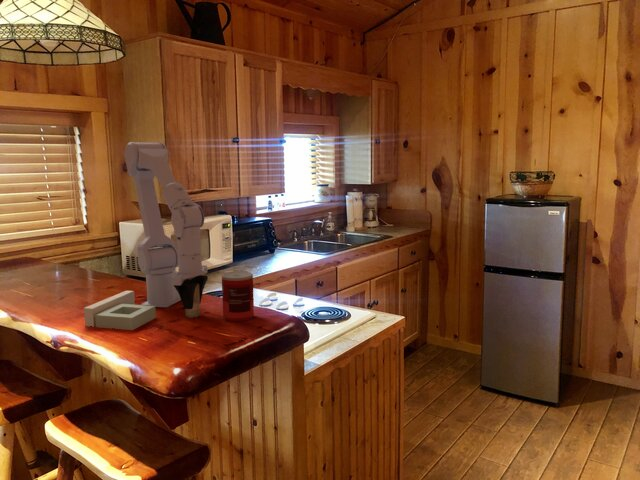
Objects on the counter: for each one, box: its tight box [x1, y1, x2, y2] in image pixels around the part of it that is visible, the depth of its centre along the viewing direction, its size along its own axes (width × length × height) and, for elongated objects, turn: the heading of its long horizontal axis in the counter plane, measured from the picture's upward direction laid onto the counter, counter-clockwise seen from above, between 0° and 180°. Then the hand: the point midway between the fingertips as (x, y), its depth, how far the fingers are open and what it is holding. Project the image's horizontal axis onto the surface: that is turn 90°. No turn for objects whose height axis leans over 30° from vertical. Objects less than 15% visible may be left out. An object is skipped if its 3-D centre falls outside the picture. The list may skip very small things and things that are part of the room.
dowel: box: [184, 284, 201, 319], centre depth 137 cm, size 4×4×8 cm
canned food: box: [221, 270, 255, 322], centre depth 135 cm, size 8×8×11 cm
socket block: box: [95, 304, 157, 331], centre depth 133 cm, size 10×10×3 cm
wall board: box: [83, 290, 136, 328], centre depth 138 cm, size 17×2×4 cm, turn 165°
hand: (192, 306), depth 137 cm, fingers closed on dowel, 4 cm apart
